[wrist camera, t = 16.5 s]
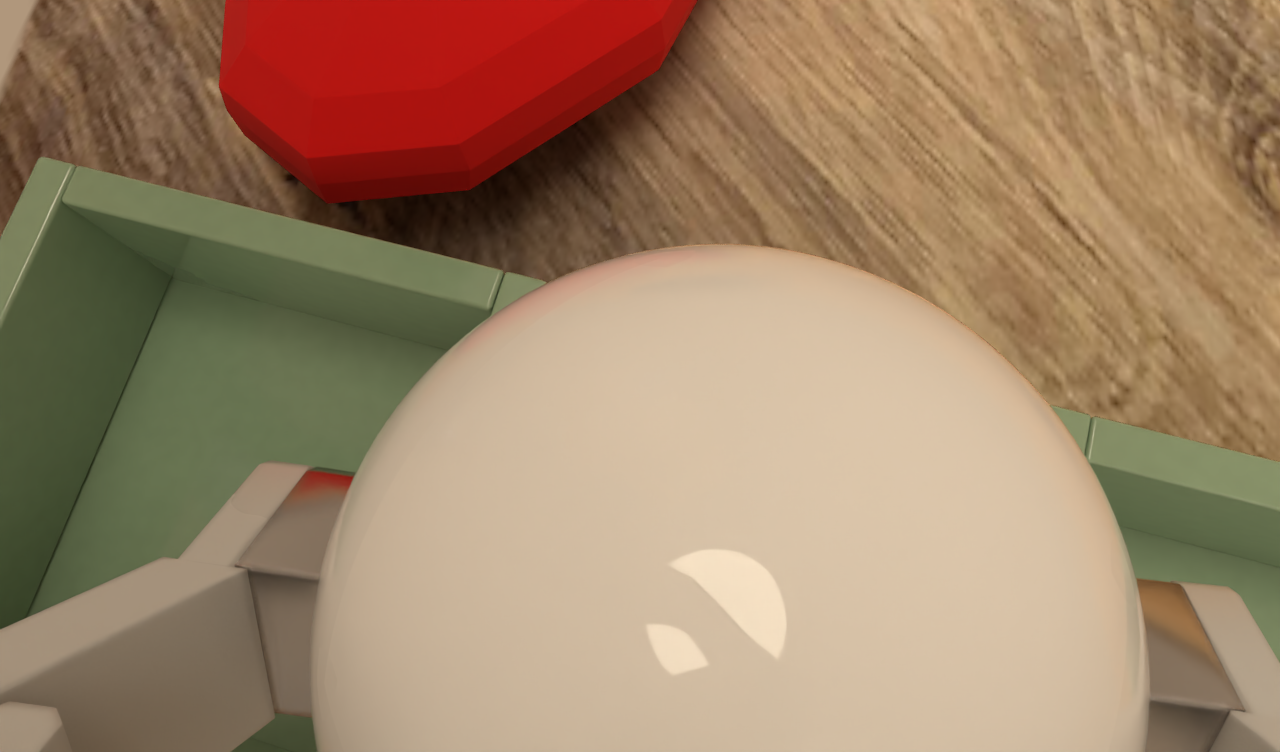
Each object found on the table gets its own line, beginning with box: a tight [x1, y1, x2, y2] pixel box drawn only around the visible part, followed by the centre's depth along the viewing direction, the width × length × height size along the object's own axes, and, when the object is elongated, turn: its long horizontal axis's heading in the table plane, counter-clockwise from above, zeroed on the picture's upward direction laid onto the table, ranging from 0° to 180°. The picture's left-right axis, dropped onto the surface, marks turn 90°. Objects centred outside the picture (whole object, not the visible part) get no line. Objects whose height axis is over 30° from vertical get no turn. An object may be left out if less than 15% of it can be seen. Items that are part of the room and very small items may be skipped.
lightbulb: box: [309, 244, 1150, 752], centre depth 10 cm, size 6×6×11 cm
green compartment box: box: [0, 157, 1280, 752], centre depth 15 cm, size 25×9×4 cm, turn 74°
